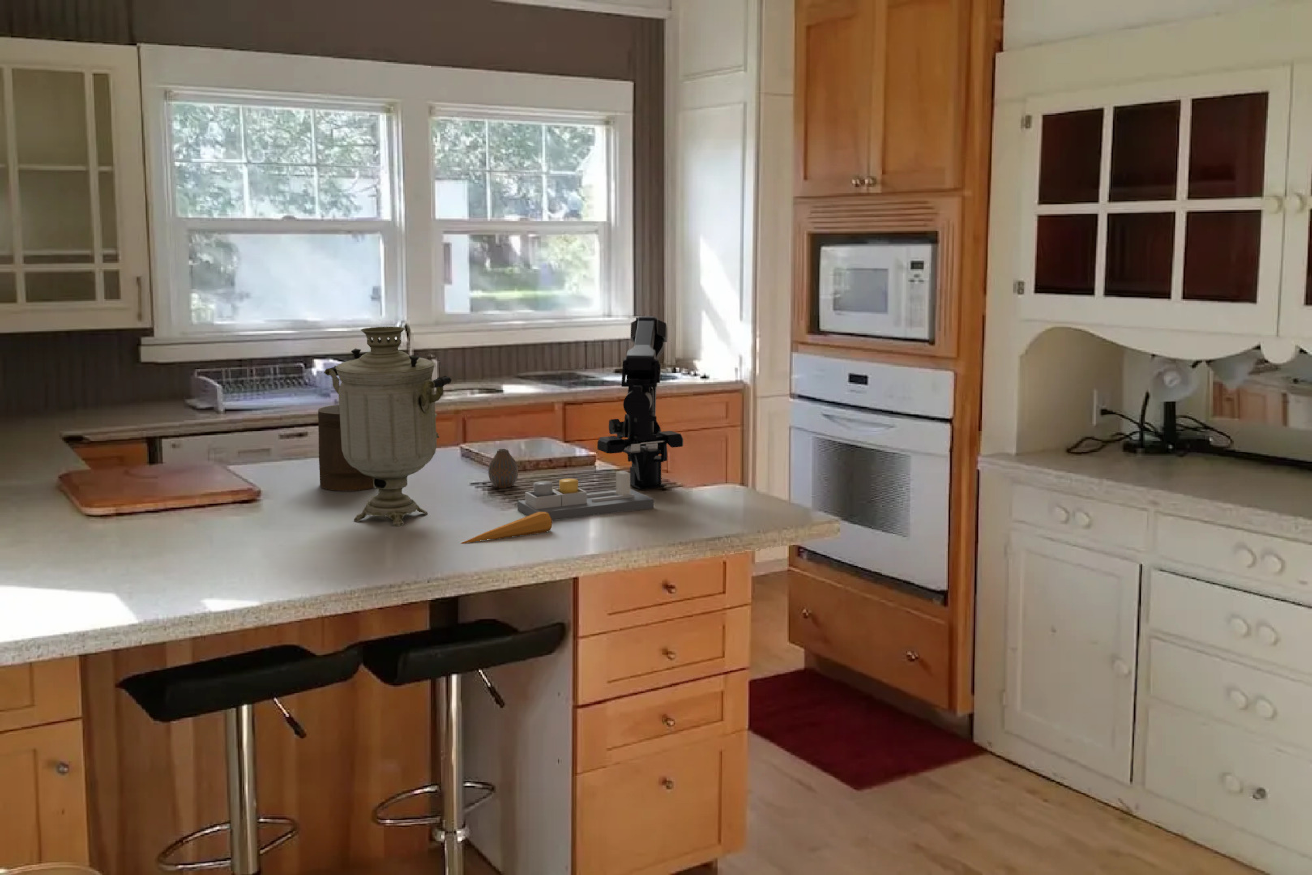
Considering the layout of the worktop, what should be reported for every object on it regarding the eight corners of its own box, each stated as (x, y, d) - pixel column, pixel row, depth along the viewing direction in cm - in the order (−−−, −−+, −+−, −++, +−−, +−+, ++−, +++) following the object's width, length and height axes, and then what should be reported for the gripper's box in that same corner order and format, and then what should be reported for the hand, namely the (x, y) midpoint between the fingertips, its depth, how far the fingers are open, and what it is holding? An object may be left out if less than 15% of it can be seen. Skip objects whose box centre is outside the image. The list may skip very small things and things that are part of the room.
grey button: (548, 494, 270) (547, 480, 269) (555, 497, 266) (555, 484, 266) (530, 496, 268) (530, 482, 267) (537, 499, 264) (537, 486, 264)
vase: (521, 483, 297) (520, 447, 295) (514, 490, 290) (514, 452, 289) (492, 482, 298) (491, 446, 296) (485, 489, 291) (484, 452, 289)
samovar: (496, 516, 265) (492, 328, 258) (393, 540, 247) (385, 337, 239) (412, 494, 285) (406, 318, 278) (310, 514, 267) (301, 326, 259)
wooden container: (397, 482, 298) (394, 391, 294) (351, 494, 285) (347, 399, 281) (353, 475, 305) (349, 386, 301) (306, 486, 293) (301, 393, 289)
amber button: (573, 491, 272) (573, 477, 272) (581, 495, 269) (581, 481, 268) (556, 493, 271) (556, 479, 270) (564, 497, 267) (563, 483, 267)
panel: (629, 496, 284) (629, 477, 283) (653, 508, 273) (653, 487, 272) (517, 509, 271) (517, 489, 271) (538, 521, 261) (538, 500, 260)
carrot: (548, 532, 256) (542, 511, 256) (557, 529, 252) (551, 507, 252) (459, 556, 246) (452, 534, 246) (466, 553, 242) (460, 530, 242)
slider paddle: (624, 492, 278) (624, 470, 277) (630, 495, 275) (630, 473, 274) (616, 493, 277) (615, 471, 276) (621, 496, 274) (621, 474, 273)
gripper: (660, 402, 286) (660, 469, 289) (586, 408, 277) (587, 477, 280) (684, 409, 276) (684, 478, 279) (608, 415, 268) (608, 487, 270)
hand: (640, 480), depth 277 cm, fingers closed
